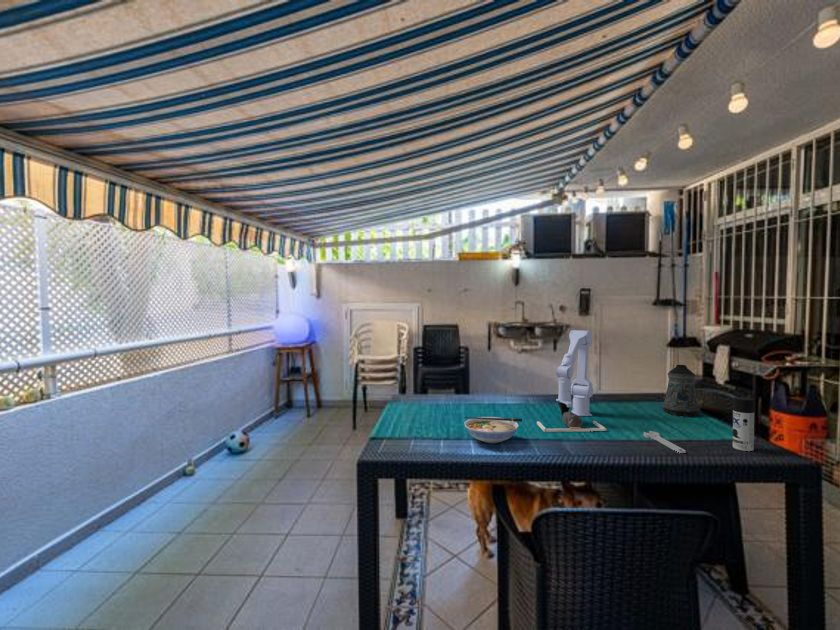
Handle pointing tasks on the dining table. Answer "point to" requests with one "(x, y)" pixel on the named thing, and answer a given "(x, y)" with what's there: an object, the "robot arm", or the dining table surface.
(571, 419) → the perforated stone tool
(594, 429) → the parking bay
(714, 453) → the dining table surface
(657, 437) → the adjustable wrench
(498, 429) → the ramen bowl
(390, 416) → the dining table surface
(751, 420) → the spray can
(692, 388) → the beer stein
